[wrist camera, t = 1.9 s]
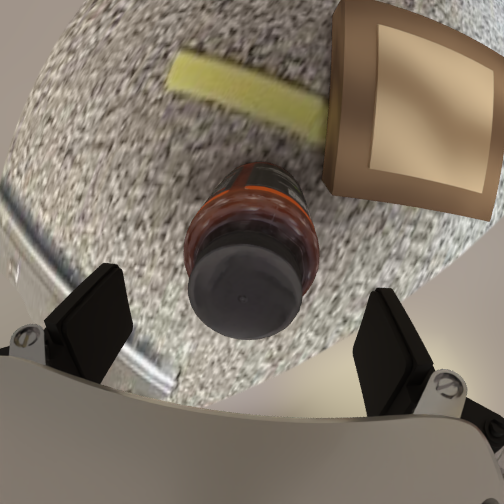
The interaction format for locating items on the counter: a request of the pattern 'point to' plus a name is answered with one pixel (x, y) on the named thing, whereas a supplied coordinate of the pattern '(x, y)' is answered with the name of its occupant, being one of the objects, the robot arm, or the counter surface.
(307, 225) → the supplement bottle
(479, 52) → the base slab
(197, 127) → the counter surface
